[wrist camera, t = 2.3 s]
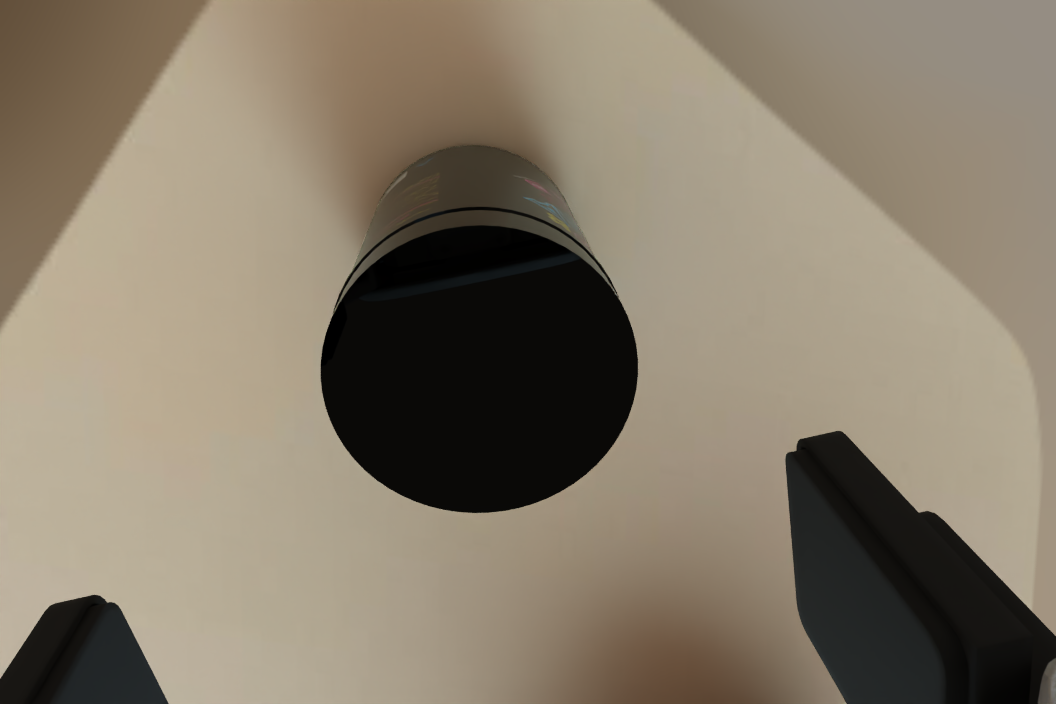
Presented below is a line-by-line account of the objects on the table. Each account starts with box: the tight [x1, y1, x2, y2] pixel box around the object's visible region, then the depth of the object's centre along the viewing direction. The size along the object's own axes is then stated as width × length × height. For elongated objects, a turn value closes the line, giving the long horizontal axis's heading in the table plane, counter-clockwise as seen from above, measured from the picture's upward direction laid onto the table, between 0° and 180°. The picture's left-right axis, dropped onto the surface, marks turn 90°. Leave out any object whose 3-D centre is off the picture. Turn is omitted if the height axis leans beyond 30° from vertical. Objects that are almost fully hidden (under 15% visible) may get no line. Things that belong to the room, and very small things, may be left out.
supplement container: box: [321, 145, 638, 513], centre depth 22 cm, size 7×7×10 cm
